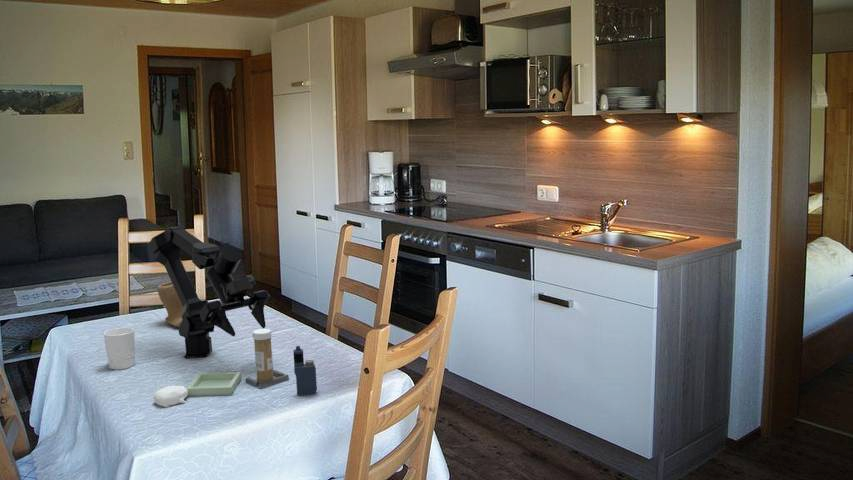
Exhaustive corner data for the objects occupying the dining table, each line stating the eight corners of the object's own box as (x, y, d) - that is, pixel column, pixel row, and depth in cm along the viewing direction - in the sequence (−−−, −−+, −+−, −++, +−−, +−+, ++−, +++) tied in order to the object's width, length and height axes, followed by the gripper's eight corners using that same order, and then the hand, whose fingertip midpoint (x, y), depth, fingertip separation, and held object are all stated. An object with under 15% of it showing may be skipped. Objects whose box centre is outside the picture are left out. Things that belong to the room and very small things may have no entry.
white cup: (143, 362, 209) (140, 328, 208) (123, 371, 202) (120, 336, 200) (120, 360, 212) (117, 326, 210) (100, 369, 205) (97, 334, 203)
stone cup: (156, 323, 250) (152, 279, 248) (191, 316, 257) (188, 274, 254) (169, 333, 238) (165, 287, 235) (206, 326, 245) (202, 282, 242)
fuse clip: (245, 382, 191) (245, 378, 190) (273, 373, 197) (273, 369, 197) (260, 389, 186) (260, 384, 186) (288, 379, 192) (288, 375, 192)
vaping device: (296, 391, 183) (293, 345, 181) (317, 390, 184) (314, 344, 182) (295, 395, 181) (292, 348, 179) (316, 394, 181) (314, 347, 179)
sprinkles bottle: (276, 381, 191) (273, 331, 189) (260, 384, 189) (256, 334, 187) (270, 376, 195) (267, 327, 193) (253, 379, 193) (250, 330, 190)
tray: (186, 396, 182) (186, 388, 182) (199, 380, 193) (198, 373, 193) (231, 394, 183) (231, 387, 182) (241, 379, 193) (241, 372, 193)
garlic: (182, 394, 185) (181, 379, 184) (193, 401, 180) (192, 386, 179) (150, 402, 179) (149, 388, 179) (161, 410, 174) (159, 395, 174)
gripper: (201, 272, 188) (228, 321, 182) (263, 260, 202) (290, 306, 196) (188, 298, 195) (214, 346, 189) (249, 285, 208) (275, 329, 202)
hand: (249, 331), depth 194 cm, fingers open, 9 cm apart
